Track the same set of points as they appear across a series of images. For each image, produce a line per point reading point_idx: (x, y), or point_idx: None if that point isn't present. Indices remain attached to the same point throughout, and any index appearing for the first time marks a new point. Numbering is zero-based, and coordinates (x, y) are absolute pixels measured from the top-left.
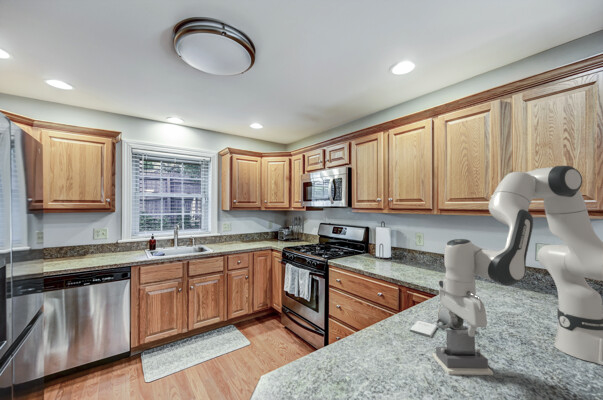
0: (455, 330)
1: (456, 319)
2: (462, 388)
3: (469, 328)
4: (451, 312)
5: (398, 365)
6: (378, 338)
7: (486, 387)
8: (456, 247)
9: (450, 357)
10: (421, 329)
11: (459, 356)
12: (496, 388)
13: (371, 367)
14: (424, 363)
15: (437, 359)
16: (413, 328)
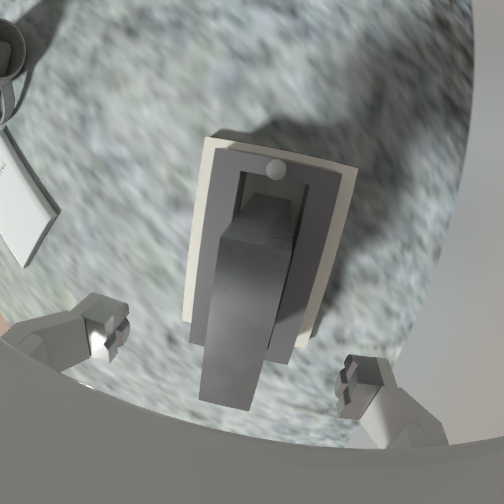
0: (213, 358)
1: (111, 322)
2: (377, 349)
3: (384, 441)
4: (48, 355)
5: (230, 430)
6: None
7: (403, 269)
8: None
9: (284, 348)
10: (18, 223)
11: (285, 304)
12: (418, 238)
13: None
14: None
15: None
16: (16, 251)
